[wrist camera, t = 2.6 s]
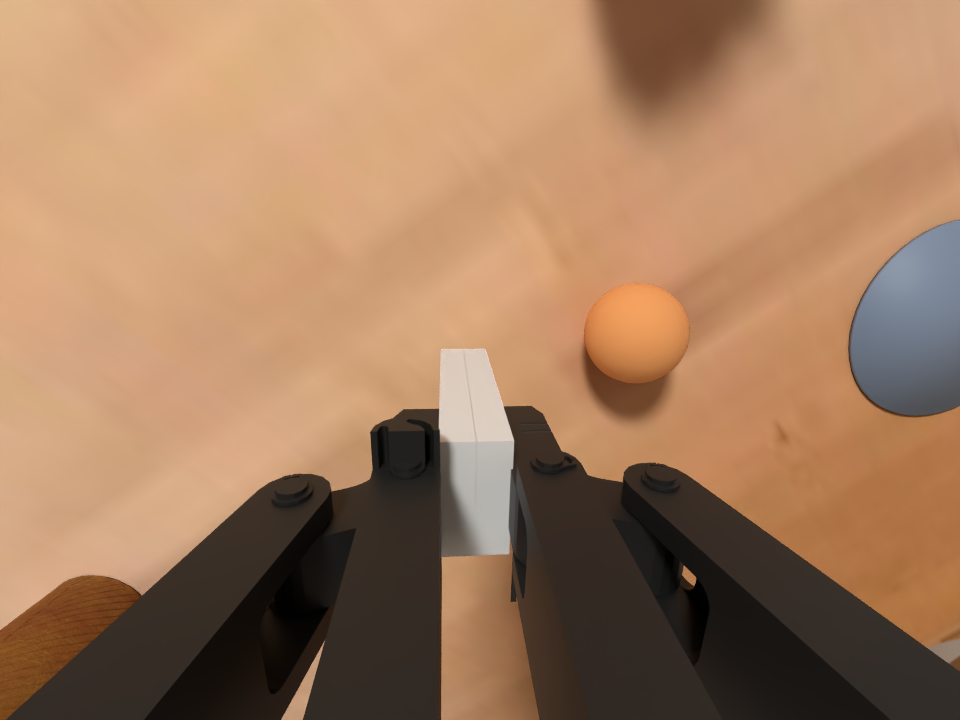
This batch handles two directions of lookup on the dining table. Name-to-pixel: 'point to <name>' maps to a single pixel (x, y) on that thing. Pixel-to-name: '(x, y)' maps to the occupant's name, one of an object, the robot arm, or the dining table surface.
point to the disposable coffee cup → (56, 634)
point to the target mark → (912, 327)
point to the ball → (636, 333)
